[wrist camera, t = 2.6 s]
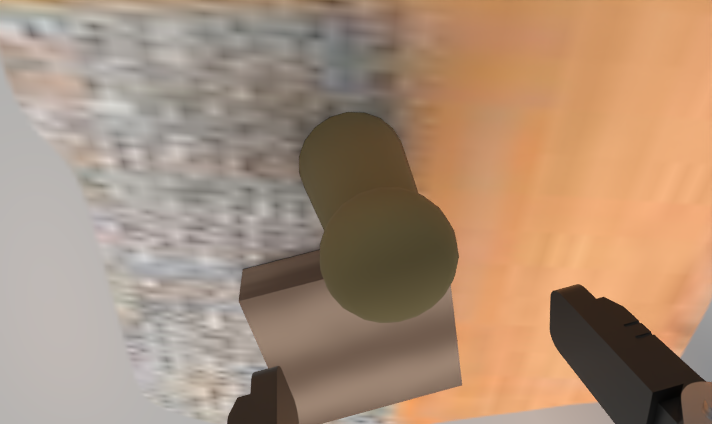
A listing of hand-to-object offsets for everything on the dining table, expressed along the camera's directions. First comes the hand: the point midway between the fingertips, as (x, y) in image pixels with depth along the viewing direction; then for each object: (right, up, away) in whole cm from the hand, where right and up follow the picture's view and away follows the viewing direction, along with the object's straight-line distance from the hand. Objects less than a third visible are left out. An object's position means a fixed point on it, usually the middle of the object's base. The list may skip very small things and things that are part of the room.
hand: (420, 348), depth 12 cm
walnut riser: (-2, -3, +17) cm, 18 cm away
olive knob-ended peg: (-2, +7, +12) cm, 14 cm away
